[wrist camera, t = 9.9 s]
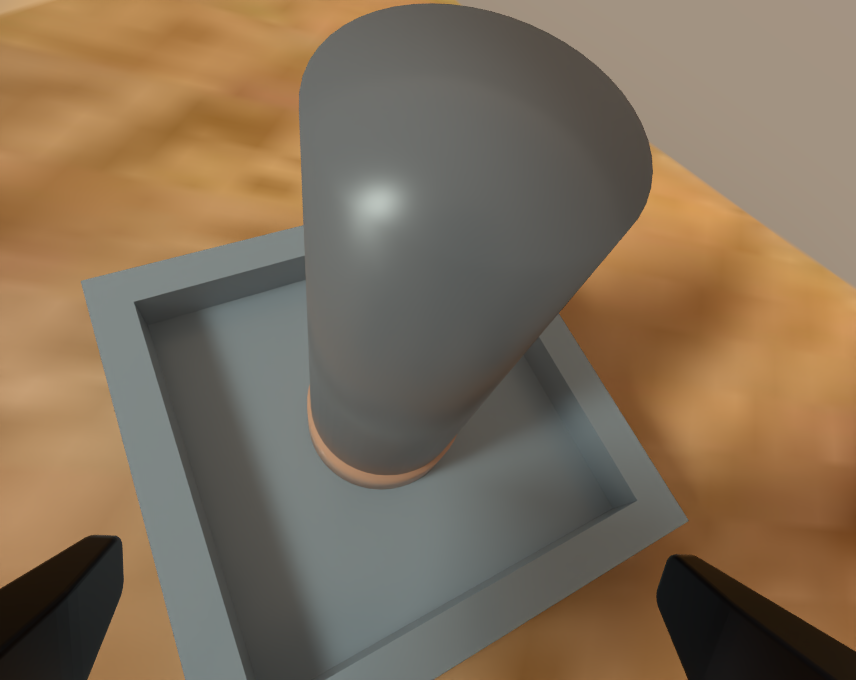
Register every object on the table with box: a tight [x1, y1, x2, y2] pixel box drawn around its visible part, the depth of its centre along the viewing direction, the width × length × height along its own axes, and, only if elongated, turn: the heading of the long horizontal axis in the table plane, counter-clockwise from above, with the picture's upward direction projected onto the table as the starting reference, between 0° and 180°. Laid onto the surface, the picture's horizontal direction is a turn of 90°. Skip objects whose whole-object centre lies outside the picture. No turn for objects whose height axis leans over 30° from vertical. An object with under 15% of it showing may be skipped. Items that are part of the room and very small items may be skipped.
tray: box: [81, 225, 689, 680], centre depth 17 cm, size 14×14×2 cm
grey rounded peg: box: [299, 4, 653, 490], centre depth 12 cm, size 5×5×12 cm
